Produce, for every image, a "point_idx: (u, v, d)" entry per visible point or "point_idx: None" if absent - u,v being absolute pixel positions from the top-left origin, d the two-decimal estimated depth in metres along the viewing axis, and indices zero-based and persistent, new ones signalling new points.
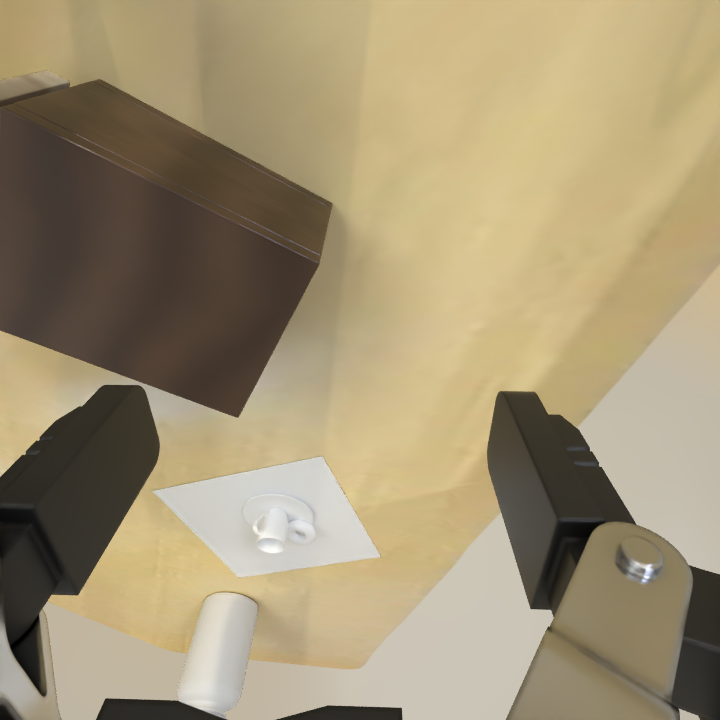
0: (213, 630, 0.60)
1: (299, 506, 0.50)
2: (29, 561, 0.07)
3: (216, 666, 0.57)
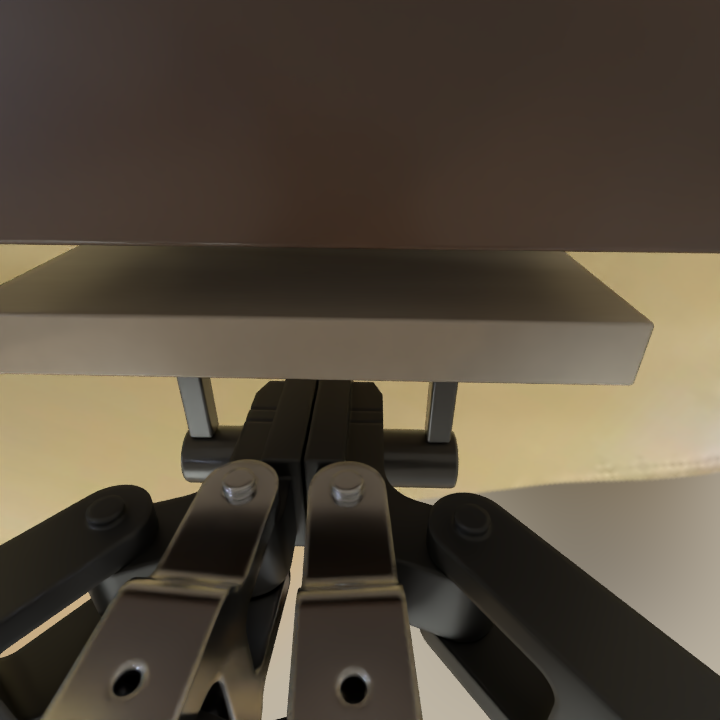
0: None
1: None
2: (290, 510, 0.08)
3: None
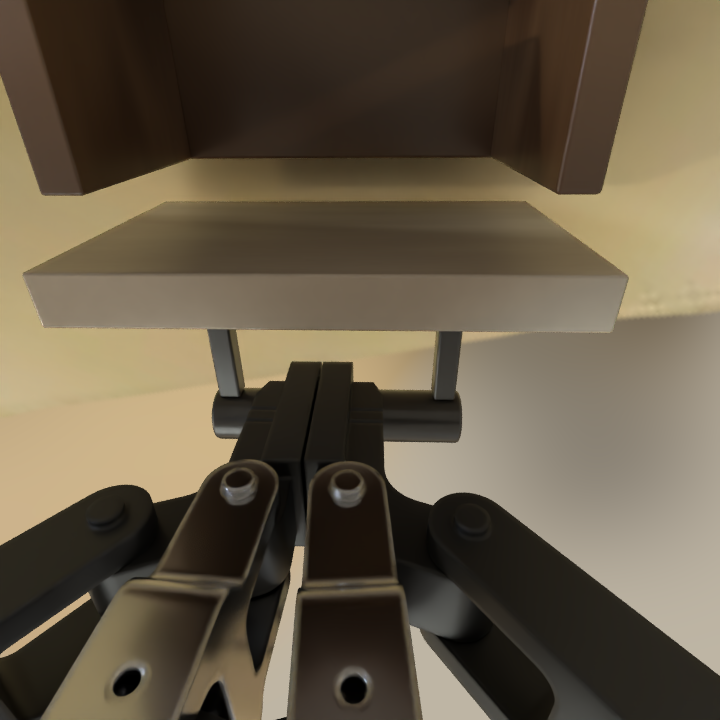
0: None
1: None
2: (290, 510, 0.08)
3: None
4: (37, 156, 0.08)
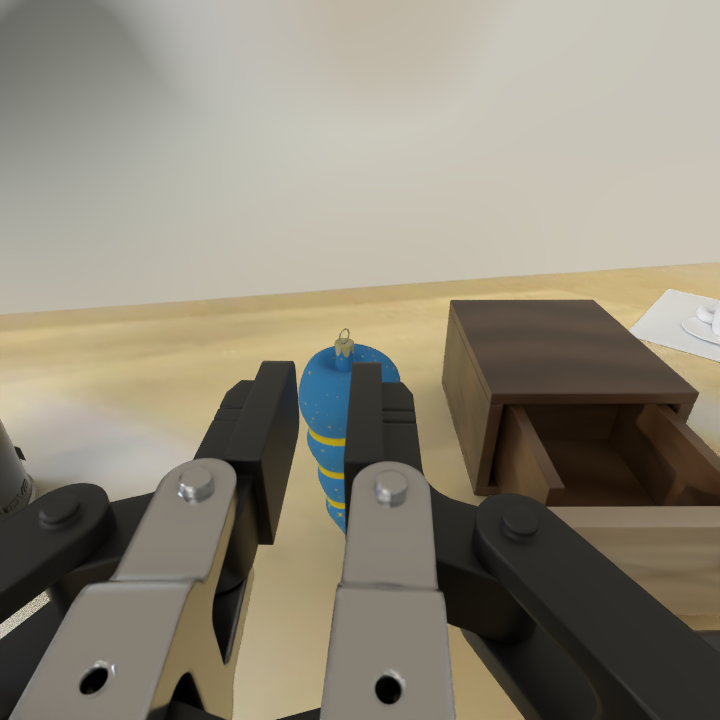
0: None
1: (691, 326, 0.55)
2: (252, 509, 0.08)
3: None
4: (549, 477, 0.23)
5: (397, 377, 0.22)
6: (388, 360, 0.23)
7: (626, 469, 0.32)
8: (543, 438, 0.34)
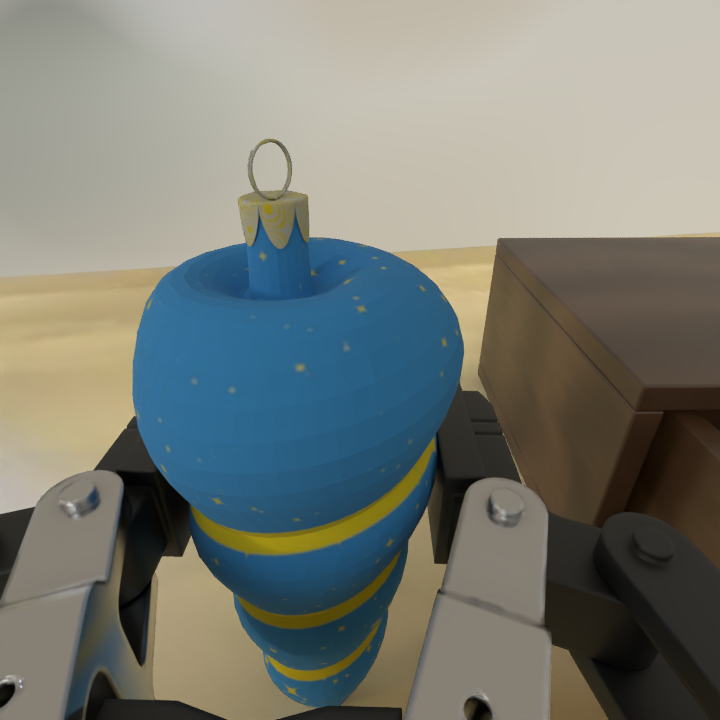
0: None
1: None
2: (149, 521, 0.08)
3: None
4: None
5: (457, 326, 0.07)
6: (424, 275, 0.07)
7: None
8: None
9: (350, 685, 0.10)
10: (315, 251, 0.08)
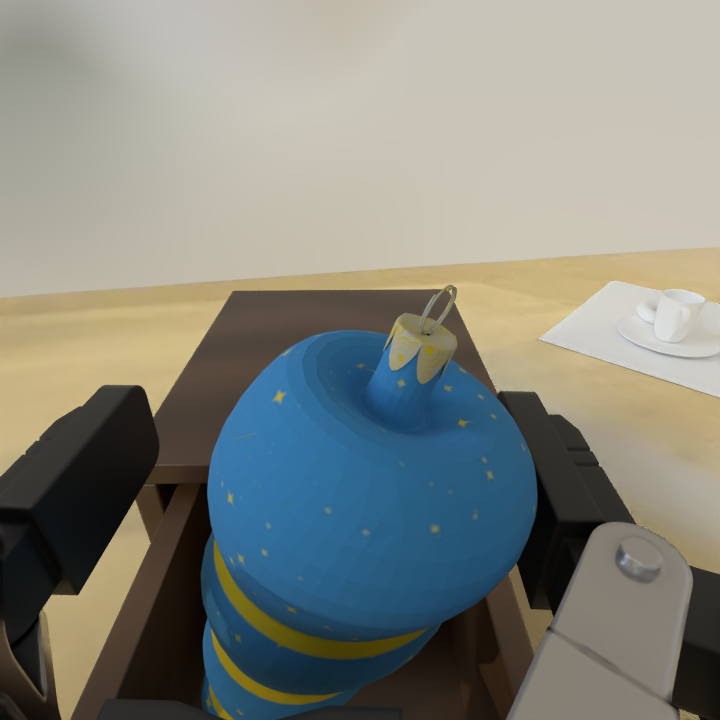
0: None
1: (628, 327, 0.41)
2: (29, 561, 0.07)
3: None
4: (86, 700, 0.10)
5: None
6: (515, 423, 0.08)
7: None
8: None
9: None
10: None
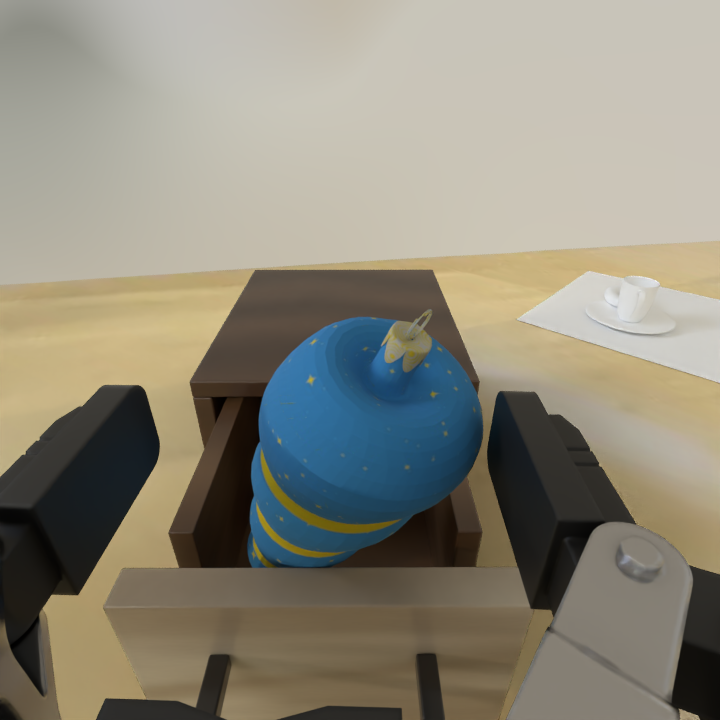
0: None
1: (595, 309, 0.47)
2: (29, 561, 0.07)
3: None
4: (181, 515, 0.15)
5: (482, 432, 0.11)
6: (473, 389, 0.11)
7: None
8: None
9: None
10: None
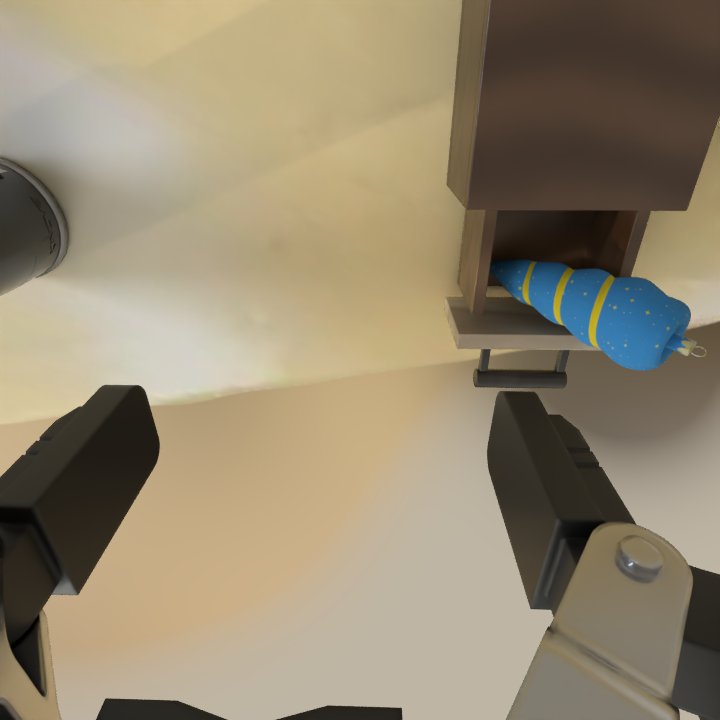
0: None
1: None
2: (29, 561, 0.07)
3: None
4: (475, 306, 0.31)
5: None
6: None
7: None
8: None
9: None
10: (682, 326, 0.26)
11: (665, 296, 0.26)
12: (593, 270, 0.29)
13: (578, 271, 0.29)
